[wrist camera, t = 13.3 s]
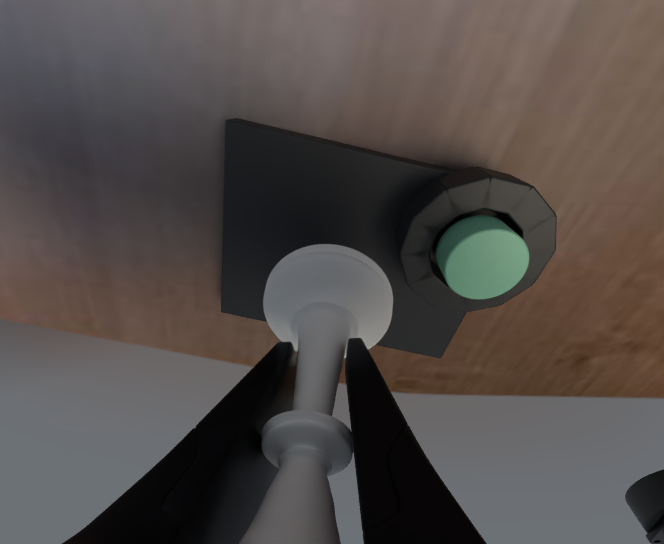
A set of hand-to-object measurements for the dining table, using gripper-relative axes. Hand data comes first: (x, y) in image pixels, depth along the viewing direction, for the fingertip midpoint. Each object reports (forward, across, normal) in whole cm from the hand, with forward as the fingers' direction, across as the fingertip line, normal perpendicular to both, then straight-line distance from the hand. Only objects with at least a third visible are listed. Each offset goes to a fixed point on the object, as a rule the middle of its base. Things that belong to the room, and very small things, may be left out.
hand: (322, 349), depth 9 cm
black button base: (+7, -1, 0) cm, 7 cm away
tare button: (+5, -6, -1) cm, 8 cm away
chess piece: (+3, 0, 0) cm, 3 cm away
